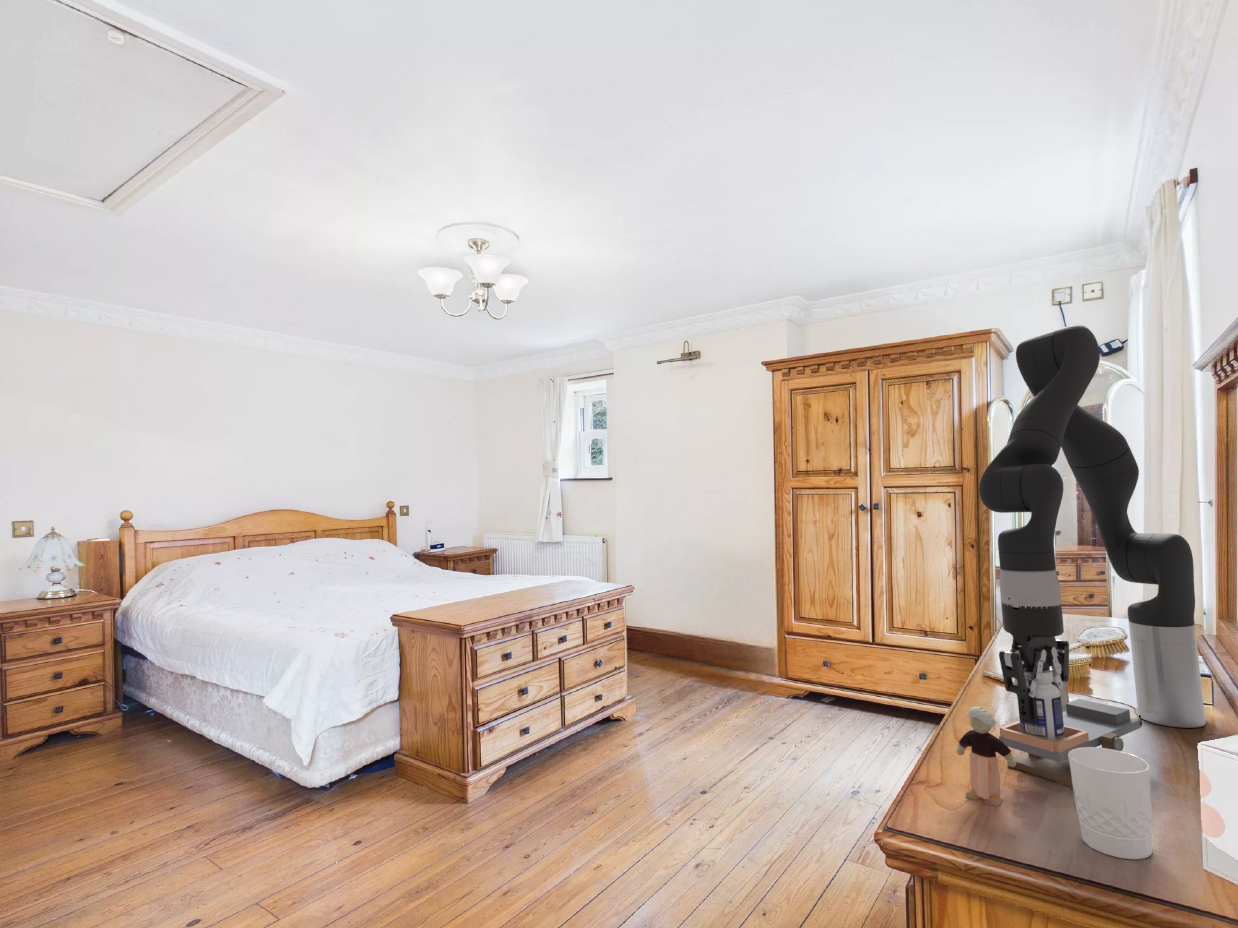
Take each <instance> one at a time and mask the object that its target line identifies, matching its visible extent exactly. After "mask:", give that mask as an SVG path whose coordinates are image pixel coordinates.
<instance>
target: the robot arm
mask: <svg viewBox="0 0 1238 928" xmlns="http://www.w3.org/2000/svg"><path fill="white" fill-rule="evenodd" d="M1100 356H1101V353H1100V346H1099V343H1098V340H1097V338H1096V336H1095V335H1094V333H1093V332H1092V331H1091V330H1090V329H1089V327H1087V326H1084V325H1082V324H1074V325H1068V326H1064V327H1062V328H1058V329H1055V330H1051V331H1049V332H1045V333H1042V334H1039V335H1036V336H1033V337H1030V338H1027V339H1024V340H1022V341H1021V342H1020V343H1019V344H1018V345H1017V346H1016V350H1015V360H1016V364H1017V367H1018V370H1019V372H1020V375H1021V377H1022V379H1023V381H1024V382H1025V384H1026V386H1027V388H1028V389H1029V391H1030V393H1031V394H1032V396H1033V397H1032V399H1031V400H1030V401H1028V402H1027V404H1026V405H1025V406H1024V407H1023V408H1022V410H1020V412H1019V413H1018V415H1017V417H1016V418H1015V420H1014V422H1013V424H1012V428H1011V430H1010V434H1009V436H1008V439H1007V443H1006V445H1004V447H1003V448H1002V449H1001V450H1000V451H999V452H998V454H996V456H995V457H994V459H992V460H991V462H990V463H989V464H988V466H987V467H986V469H984V472H983V473H982V476H981V478H980V480H979V481H980V482H979V486H978V492H979V497H980V500H981V502H982V503H983V505H984V507H986V508H987V509H988V510H990V511H991V512H994V513H999V514H1000V513H1001V514H1003V513H1006V514H1008V513H1010V514H1011V513H1012V514H1013V513H1031V516H1030V519H1029V520H1028V523H1027V524H1025V525H1023V526H1020V527H1014V528H1011V529H1010V528H1009V529H1006V530H1003V531H1001V532H999V534H998V537H997V550H998V559H999V568H1000V570H999V573H1000V574H999V593H1000V606H1001V616H1002V617H1001V618H1002V628H1003V630H1004V632H1006V633H1008V634H1010V636H1011V637H1012V644H1011V649H1009V650H1008V651H1005V650H999V654H998V657H999V663H1000V668H1001V672H1002V678H1003V682H1004V687H1005V691H1006V692H1009V693H1013V694H1016V697H1018V698H1017V706H1018V707H1019V708H1018V707H1017V708H1018V718H1019V717H1020V718H1019V720H1020V719H1021V720H1022V721H1024V722H1028V723H1032V724H1034V723H1037V722H1038V715H1037V704H1036V697H1034V696H1035V692H1036V685H1037V682H1039V681H1040V680H1041V676H1042V671H1043V670H1046V671H1047V670H1051V671H1052V674H1053V682H1051V683H1052V684H1053V685H1055V686H1056V687H1057V688H1058V689H1059V691H1060V689H1061V688H1062V685H1063V683H1062V682H1063V681H1064V682H1067V683H1068V682H1069V680H1070V643H1069V641H1068V640H1064V639H1057V638H1056V637H1058V636H1062V635H1063V634H1064V632H1065V628H1064V627H1065V626H1064V619H1063V607H1062V597H1061V595H1062V594H1061V586H1060V581H1059V577H1058V574H1057V565H1056V554H1055V533H1056V527H1057V526H1056V525H1057V522H1058V521H1057V520H1058V515H1059V511H1060V508H1061V504H1062V500H1063V497H1064V496H1063V494H1064V481H1063V478H1062V476H1061V474H1060V473H1059V471H1058V470H1057V469H1056V468H1055V467H1054V465H1055V463H1056V462H1057V460H1058V458H1059V455H1060V451H1061V450H1062V452H1063V454H1064V456H1065V459H1066V461H1067V464H1068V467H1070V470H1071V472H1072V474H1073V476H1074V478H1075V481H1076V482H1077V484H1078V486H1079V487H1080V490H1081V491H1082V493H1083V495H1084V499H1085V500H1086V502H1087V504H1088V506H1089V508H1090V510H1091V513H1092V515H1093V517H1094V519H1095V522H1096V525H1097V529H1098V531H1099V535H1100V537H1101V540H1102V543H1103V546H1104V549H1105V551H1106V555H1107V557H1108V559H1109V562H1110V565H1111V567H1112V569H1113V570H1114V572H1115V573H1116V574H1117V576H1118V577H1119V578H1121V580H1123V581H1125V582H1128V583H1135V584H1137V583H1138V584H1144V585H1145V584H1147V585H1158V587H1157V594H1156V595H1155V597H1152V598H1151V599H1148V600H1144V601H1139V602H1135V603H1132V604H1129V605H1128V607H1127V618H1128V629H1129V637H1130V639H1129V640H1130V649H1131V657H1132V658H1131V659H1132V665H1133V667H1132V669H1133V676H1134V687H1135V695H1136V704H1137V705H1136V707H1137V714H1139V715H1140V716H1141V717H1140V718H1141V719H1142V720H1145V721H1146V722H1150V723H1152V724H1156V725H1163V726H1167V727H1173V728H1185V729H1186V728H1188V729H1189V728H1201V727H1204V726H1205V725H1206V716H1205V707H1204V697H1203V695H1204V694H1203V688H1202V687H1203V685H1202V680H1201V679H1202V677H1201V676H1202V675H1201V668H1200V661H1199V658H1200V657H1199V651H1198V642H1197V634H1196V632H1197V631H1196V626H1195V625H1196V624H1195V623H1196V622H1195V610H1196V595H1195V576H1194V575H1195V573H1194V572H1195V570H1194V569H1195V568H1194V566H1195V565H1194V557H1193V553H1192V550H1191V549H1192V548H1191V547H1190V546H1191V545H1190V544H1189V542H1188V541H1187V539H1185V538H1184V537H1183V536H1182V535H1179V534H1176V533H1160V532H1159V533H1150V532H1148V533H1147V532H1146V533H1145V532H1144V533H1143V532H1142V533H1141V532H1137V531H1135V529H1134V528H1133V526H1132V524H1131V522H1130V518H1129V514H1128V509H1129V504H1130V501H1131V498H1132V496H1134V495H1133V494H1134V492H1135V489H1136V487H1137V484H1138V480H1139V475H1140V470H1139V466H1138V463H1137V461H1136V458H1135V456H1134V454H1133V451H1132V450H1131V447H1130V446H1129V443H1128V441H1127V440H1126V439H1127V438H1126V437H1125V436H1124V435H1123V434H1122V432H1120V431H1119V430H1118V429H1117V428H1115V427H1114V426H1112V425H1110V424H1109V423H1108V422H1106V421H1105V420H1102V419H1101V418H1100V417H1098V416H1096V415H1094V414H1093V413H1091V412H1089V411H1088V410H1086V409H1084V408H1083V407H1081V406H1080V405H1079V402H1080V401H1081V399H1082V398H1083V396H1084V395H1085V393H1086V390H1087V389H1088V386H1089V385H1090V383H1091V382H1092V380H1093V379H1094V377H1095V375H1096V372H1097V371H1098V370H1097V369H1099V368H1098V367H1099V365H1100V359H1101V358H1100ZM1058 655H1059V656H1058ZM1059 664H1061V667H1060V665H1059ZM1024 671H1029V672H1033V673H1031V674H1029V673H1024ZM1012 678H1013V679H1012ZM1025 679H1028V680H1029V682H1028V687H1027V685H1026V680H1025ZM1013 681H1014V682H1013Z"/></svg>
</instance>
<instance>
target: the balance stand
mask: <svg viewBox="0 0 1238 928" xmlns="http://www.w3.org/2000/svg"><path fill="white" fill-rule="evenodd" d="M1101 743H1102V745H1101V748H1107V749H1113V750H1118V751H1122V752H1123V749H1124V746H1125V745H1124V744H1125V743H1124V740H1123V739H1122V738H1121V737H1119V735H1118V734H1114V733H1110V732H1109V733H1107V734H1104V735H1102V736H1101ZM1013 759H1014V761H1015V762H1016V766H1015V767H1012V769H1013V768H1014V769H1015V770H1019V771H1020V770H1021V771H1023V772H1026V773H1029V774H1032V775H1035V776H1039V777H1042V778H1044V779H1048V780H1051V781H1053V782H1056V783H1060V784H1062V785H1066V786H1069V787H1072V788H1073V784H1072V778H1071V771H1070V765H1069V759H1068V760H1065V761H1063V762H1061V763H1060V762H1057V761H1053V760H1050V759H1047V758H1043V757H1040V756H1037V755H1033V754H1030V753H1027V752H1024V751H1023V752H1021V753H1019V754H1016V755H1014V756H1013ZM1007 766H1008V767H1010V766H1009V765H1008V764H1007Z"/></svg>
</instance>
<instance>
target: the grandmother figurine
mask: <svg viewBox="0 0 1238 928" xmlns="http://www.w3.org/2000/svg"><path fill="white" fill-rule="evenodd" d="M967 716H968V718H969V720H970V726H971V730H968V731H967V732H966V733H964V735H963V736H962V737H961V738H960V739H959V740H958V744H957V748H956V753H957V755H958V756H964V755H965V751H966V750H967V748H968V747H971V751H970V754H969V772H970V773H969V774H970V775H969V777H970V778H969V781H970V783H969V784H970V789H968V790H967V791H966V792H965V797H966V798H968V799H970V800H980V799H983V800H984V802H985V803H986V804H987V805H991V806H994V807H995V806H996V807H997V806H1001V805H1002V802H1003V799H1002V797H1001V773H1000V766H999V760H998V757H997V754H999V755H1000V756H1001V757H1003V758H1004V760H1005V761H1007V762H1006V763H1007V766H1008V765H1009V766H1008V767H1011V768H1013V767H1015V766H1016V762H1015V761H1014V759H1013V757H1014V756H1013V754H1012V753H1011V752H1012V750H1011V749H1010V747H1007V746H1006V745H1005V744H1004V743H1003V742H1002V741H1001V740H999V737H996V736H995V735H994V734H991V732H990V731H991V730H992V728H993V727H994V726H995V725H996V724H997V721H996V720H995V717H994V716H993V714H992V713H991V712H990V711H989V710H987V709H986V708H985V707H983V706H972V707H970V708H969V710H968V715H967Z"/></svg>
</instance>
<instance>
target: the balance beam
mask: <svg viewBox="0 0 1238 928" xmlns="http://www.w3.org/2000/svg"><path fill="white" fill-rule="evenodd" d="M1062 714H1063V723H1064V733H1065V739H1062V740H1060V741H1057V742H1052V741H1049V740H1045V739H1042V738H1038V737H1034V736H1031V735H1027V734H1024V733H1021V729H1020V719H1019V720H1017V721H1014V722H1011V723H1008V724H1005V725H1001V726H1000V727H998V728H999V729H998V730H999V735H998V739H999V740H1001V741H1002V742H1003V743H1004V744H1005V745H1006V746H1007V747H1008V748H1009V749H1010V748H1011V749H1014V750H1017V751H1020V752H1023V753H1024V752H1027V753H1030V754H1033V755H1037V756H1040V757H1043V758H1047V759H1050V760H1053V761H1057V762H1060V763H1061V762H1063V761H1065V760H1068V759H1069V758H1068V752H1069V751H1070V750H1072V749H1076V748H1082V747H1097V748H1099V747H1100V746H1102V743H1101V736H1102V735H1104V734H1107V733H1109V732H1110V733H1114V734H1118V735H1119V738H1121V737H1123V736H1125V735H1128V734H1130V733H1132V732H1135V731H1137V730H1139V729H1141V726H1140V725H1141V724H1140V720H1139V719H1136V718H1131V712H1130V709H1128V708H1122V707H1119V706H1115V705H1114V706H1113V705H1110V704H1104V703H1100V702H1095V701H1092V700H1085V699H1081V698H1078V699H1074V700H1072V701H1069V703H1066V711H1065V712H1063V713H1062Z"/></svg>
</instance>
